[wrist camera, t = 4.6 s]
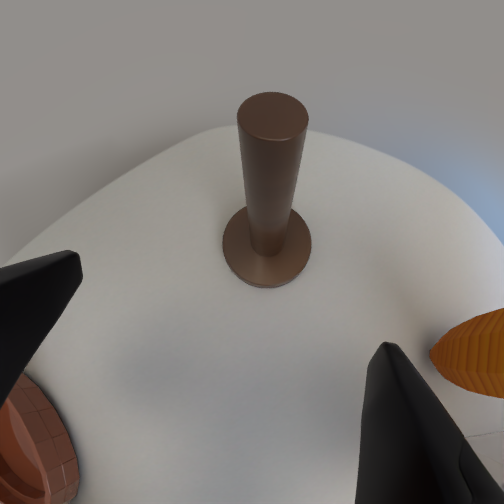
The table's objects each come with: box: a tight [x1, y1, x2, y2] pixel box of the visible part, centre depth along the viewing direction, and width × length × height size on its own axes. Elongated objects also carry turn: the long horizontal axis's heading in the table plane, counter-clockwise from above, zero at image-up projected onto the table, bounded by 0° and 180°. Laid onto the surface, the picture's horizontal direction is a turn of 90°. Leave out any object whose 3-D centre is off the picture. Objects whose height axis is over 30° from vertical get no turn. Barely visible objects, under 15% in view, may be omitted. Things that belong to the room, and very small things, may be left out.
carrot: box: [429, 308, 504, 399], centre depth 11 cm, size 5×5×15 cm
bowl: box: [0, 373, 80, 504], centre depth 14 cm, size 14×14×5 cm
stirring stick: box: [223, 92, 311, 288], centre depth 14 cm, size 6×6×13 cm
